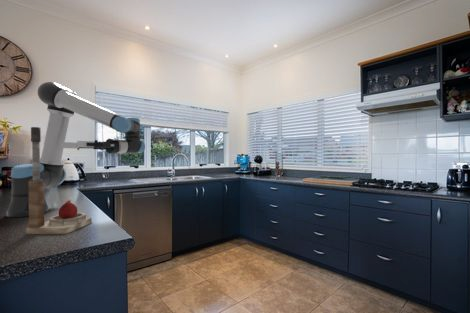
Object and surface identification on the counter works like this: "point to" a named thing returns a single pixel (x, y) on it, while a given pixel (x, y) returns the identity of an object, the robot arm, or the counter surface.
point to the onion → (67, 210)
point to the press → (37, 200)
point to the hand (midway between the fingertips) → (69, 144)
